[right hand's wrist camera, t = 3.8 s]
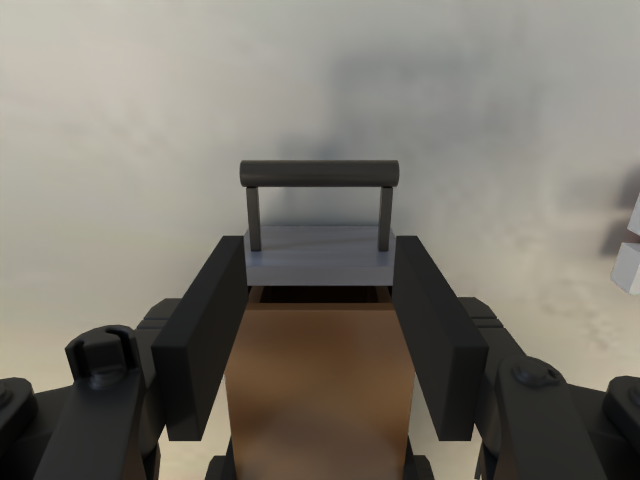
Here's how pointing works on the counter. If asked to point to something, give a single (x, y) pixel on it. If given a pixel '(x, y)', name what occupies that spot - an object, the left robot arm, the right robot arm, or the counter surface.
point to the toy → (629, 259)
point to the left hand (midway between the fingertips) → (319, 423)
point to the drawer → (319, 237)
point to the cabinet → (319, 392)
